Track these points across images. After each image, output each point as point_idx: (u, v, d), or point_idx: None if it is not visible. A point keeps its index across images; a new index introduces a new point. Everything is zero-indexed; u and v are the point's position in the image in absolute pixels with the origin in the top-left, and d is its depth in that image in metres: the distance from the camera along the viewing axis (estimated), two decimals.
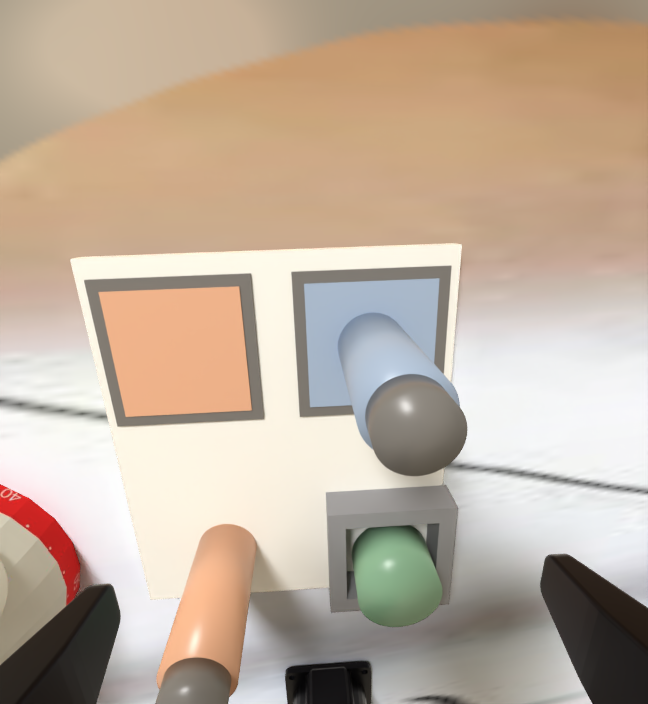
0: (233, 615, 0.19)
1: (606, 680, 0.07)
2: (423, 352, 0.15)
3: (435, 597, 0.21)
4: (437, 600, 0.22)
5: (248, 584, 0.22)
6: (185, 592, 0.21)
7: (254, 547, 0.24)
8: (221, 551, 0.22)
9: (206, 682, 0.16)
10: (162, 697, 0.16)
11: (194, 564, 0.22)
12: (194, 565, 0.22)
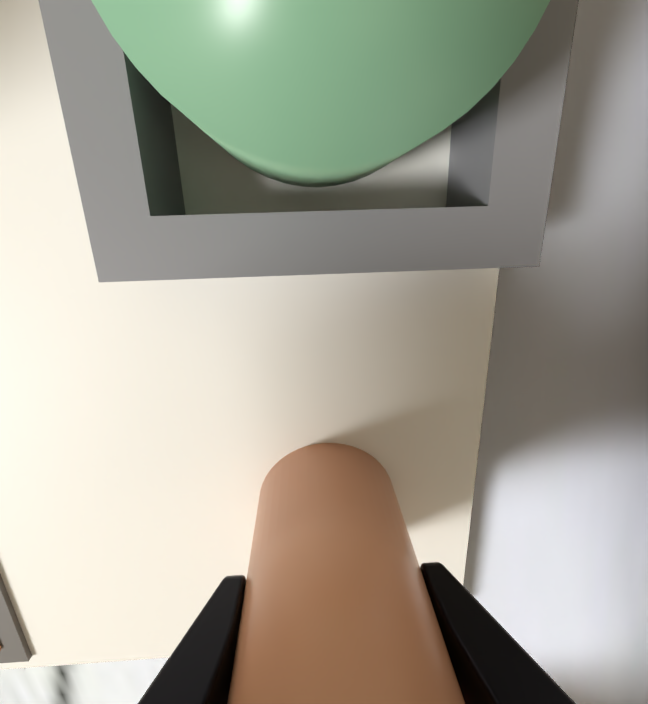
0: None
1: None
2: None
3: None
4: None
5: (310, 545, 0.07)
6: None
7: (312, 457, 0.09)
8: None
9: None
10: None
11: None
12: None
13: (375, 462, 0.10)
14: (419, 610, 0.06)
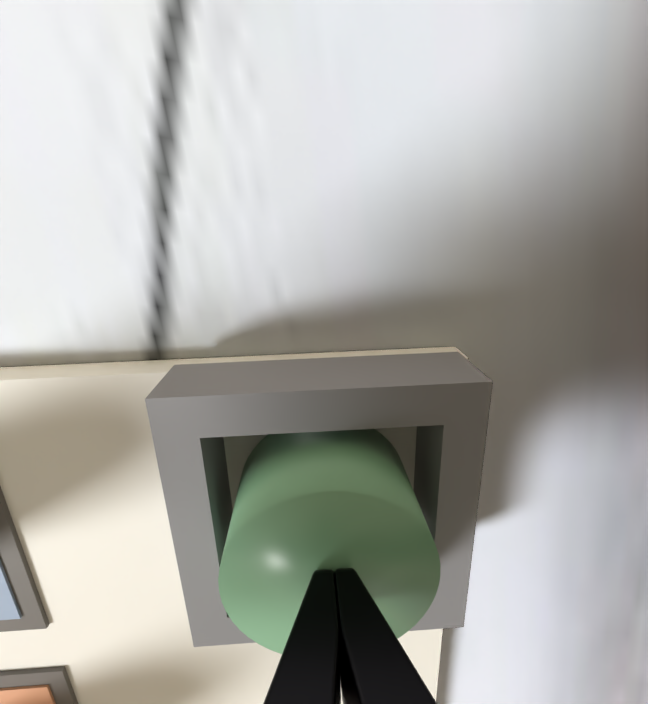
0: None
1: (347, 700, 0.06)
2: None
3: (342, 505, 0.08)
4: (357, 500, 0.08)
5: None
6: None
7: None
8: None
9: None
10: None
11: None
12: None
13: None
14: None
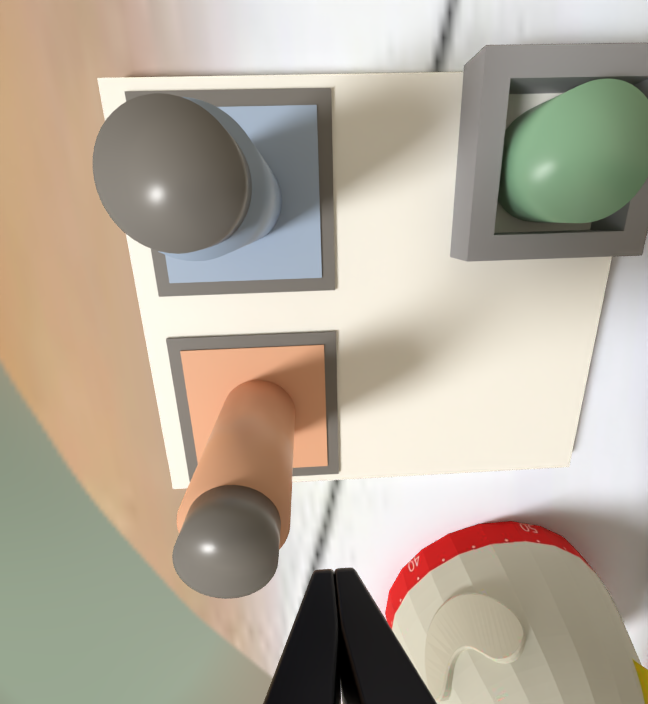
0: (207, 451, 0.14)
1: (346, 700, 0.06)
2: None
3: (612, 90, 0.13)
4: (621, 86, 0.13)
5: (237, 411, 0.16)
6: None
7: (247, 385, 0.19)
8: None
9: (182, 527, 0.12)
10: (191, 582, 0.12)
11: None
12: None
13: (282, 389, 0.19)
14: (277, 432, 0.16)
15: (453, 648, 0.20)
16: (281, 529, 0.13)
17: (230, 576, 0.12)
